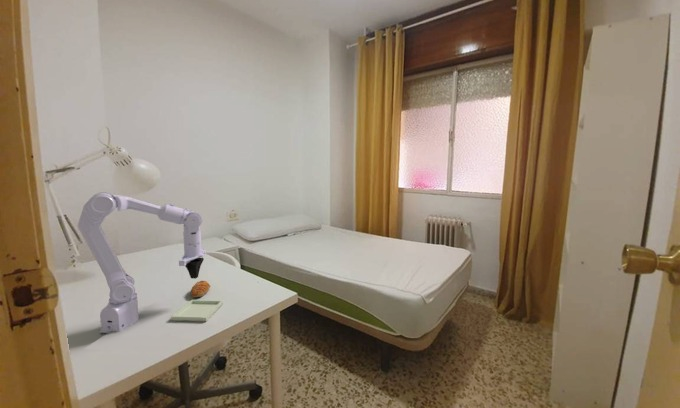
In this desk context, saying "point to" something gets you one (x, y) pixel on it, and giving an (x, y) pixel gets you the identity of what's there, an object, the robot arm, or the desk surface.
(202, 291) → the pastry
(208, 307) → the tray
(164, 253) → the desk surface
